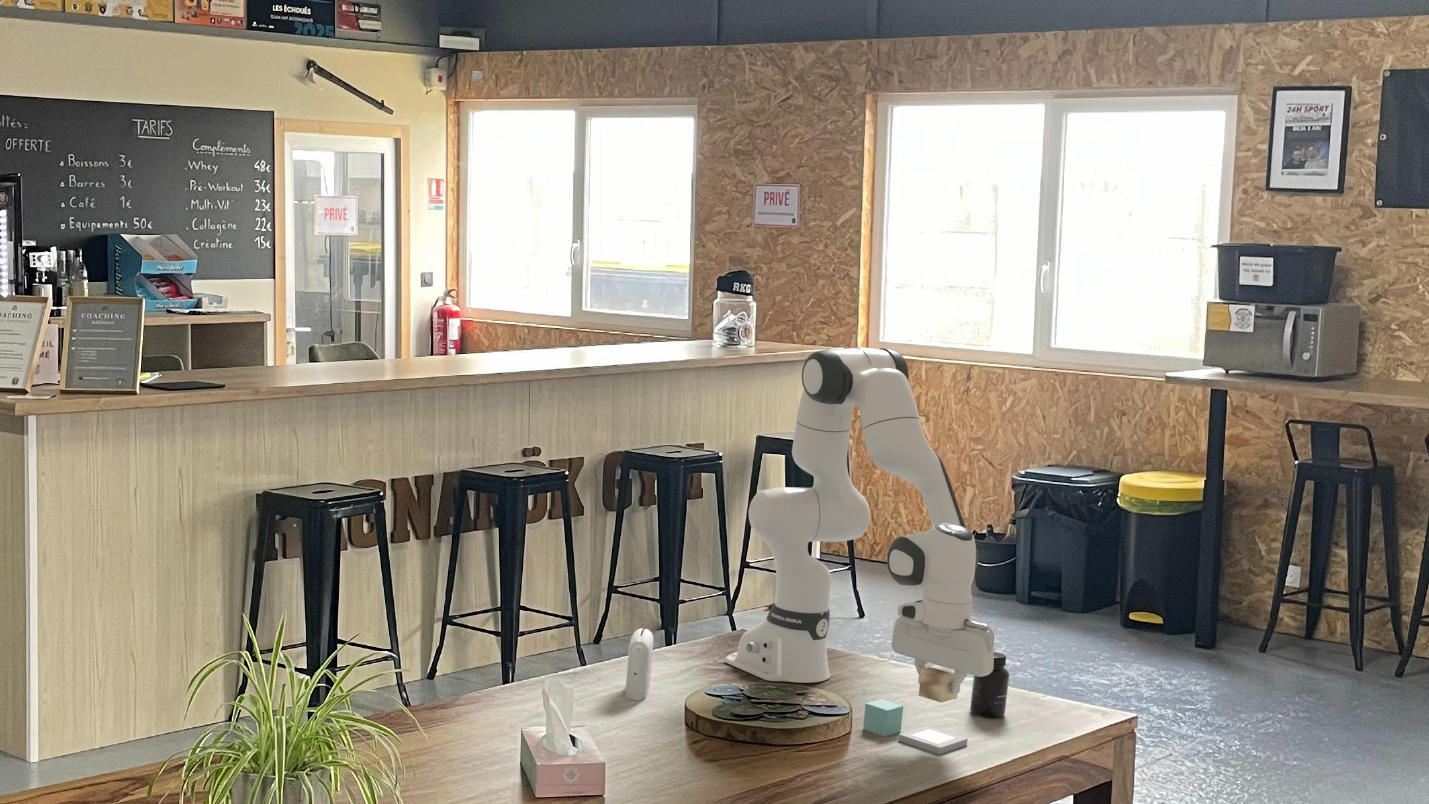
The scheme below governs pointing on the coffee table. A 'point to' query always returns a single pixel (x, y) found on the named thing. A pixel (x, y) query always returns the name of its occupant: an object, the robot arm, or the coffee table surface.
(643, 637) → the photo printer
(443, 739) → the coffee table surface
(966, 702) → the coffee table surface
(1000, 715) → the supplement bottle
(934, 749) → the plate
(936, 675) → the maple cube
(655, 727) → the coffee table surface
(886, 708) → the teal cube
